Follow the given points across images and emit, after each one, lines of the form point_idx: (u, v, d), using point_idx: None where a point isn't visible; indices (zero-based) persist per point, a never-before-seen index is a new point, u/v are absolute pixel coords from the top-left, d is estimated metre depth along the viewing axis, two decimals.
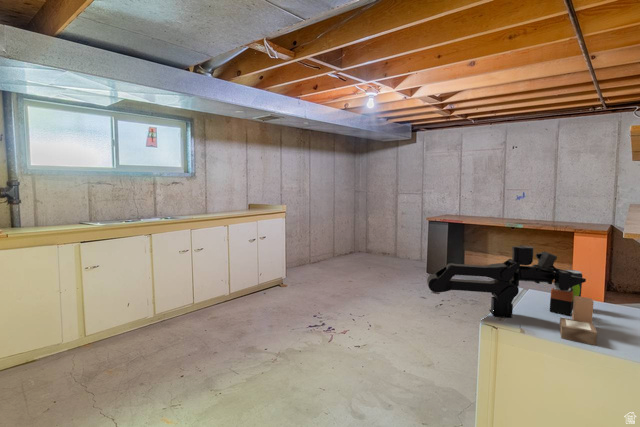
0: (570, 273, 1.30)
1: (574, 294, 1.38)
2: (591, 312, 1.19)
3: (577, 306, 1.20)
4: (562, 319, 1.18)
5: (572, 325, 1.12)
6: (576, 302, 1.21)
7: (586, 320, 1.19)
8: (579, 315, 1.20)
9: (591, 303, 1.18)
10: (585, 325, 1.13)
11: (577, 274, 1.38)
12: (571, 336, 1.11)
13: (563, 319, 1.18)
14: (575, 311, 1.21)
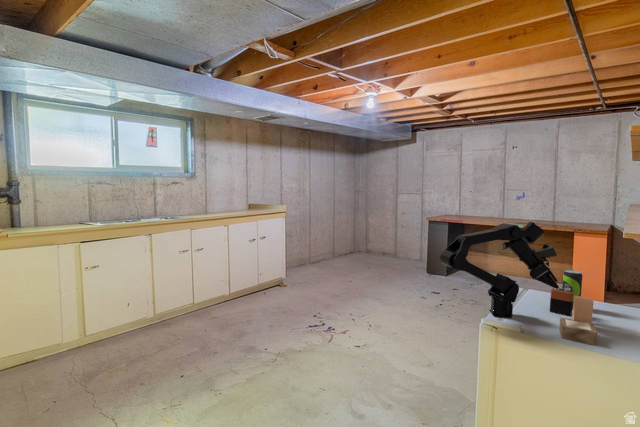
0: (555, 280, 1.29)
1: (574, 294, 1.38)
2: (591, 312, 1.19)
3: (577, 306, 1.20)
4: (562, 319, 1.18)
5: (572, 325, 1.12)
6: (576, 302, 1.21)
7: (586, 320, 1.19)
8: (579, 315, 1.20)
9: (591, 303, 1.18)
10: (585, 325, 1.13)
11: (577, 274, 1.38)
12: (571, 336, 1.11)
13: (563, 319, 1.18)
14: (575, 311, 1.21)
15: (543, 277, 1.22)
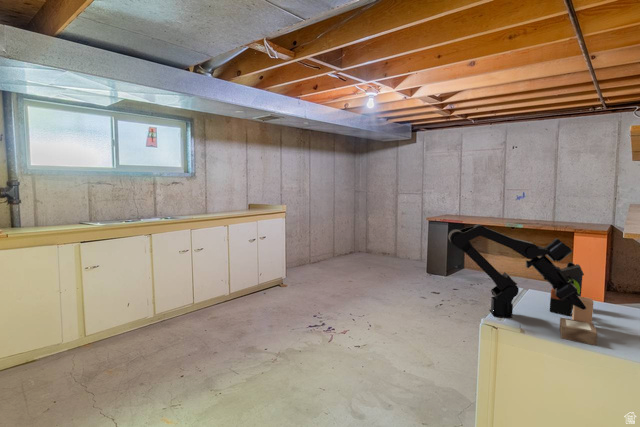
0: None
1: None
2: (591, 312, 1.19)
3: None
4: (562, 319, 1.18)
5: (572, 325, 1.12)
6: None
7: (586, 320, 1.19)
8: (579, 315, 1.20)
9: (591, 303, 1.18)
10: (585, 325, 1.13)
11: None
12: (571, 336, 1.11)
13: (563, 319, 1.18)
14: (575, 311, 1.21)
15: (570, 297, 1.19)
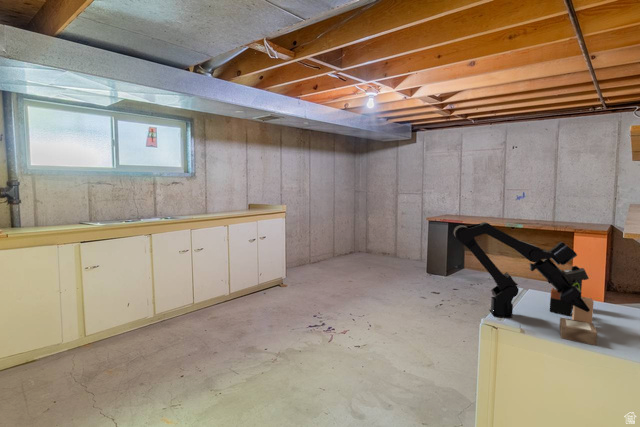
0: None
1: None
2: (591, 312, 1.19)
3: None
4: (562, 319, 1.18)
5: (572, 325, 1.12)
6: None
7: (586, 320, 1.19)
8: (579, 315, 1.20)
9: (591, 303, 1.18)
10: (585, 325, 1.13)
11: None
12: (571, 336, 1.11)
13: (563, 319, 1.18)
14: (575, 311, 1.21)
15: (573, 300, 1.20)
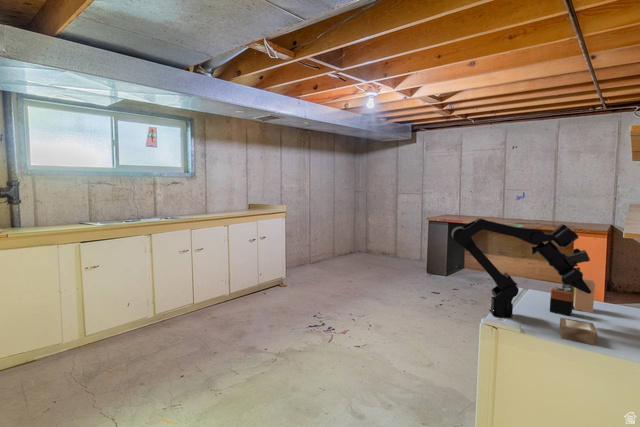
0: None
1: None
2: (593, 294, 1.18)
3: None
4: (562, 319, 1.18)
5: (572, 325, 1.12)
6: None
7: (588, 302, 1.19)
8: (581, 297, 1.20)
9: (593, 285, 1.18)
10: (585, 325, 1.13)
11: None
12: (571, 336, 1.11)
13: (563, 319, 1.18)
14: (576, 293, 1.20)
15: (575, 282, 1.19)
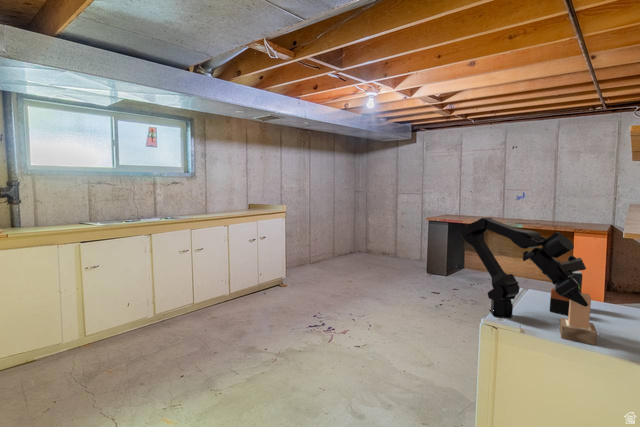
0: None
1: None
2: (588, 309, 1.10)
3: (573, 303, 1.12)
4: (562, 319, 1.18)
5: None
6: None
7: (583, 318, 1.11)
8: (576, 313, 1.11)
9: (588, 299, 1.09)
10: None
11: (577, 274, 1.38)
12: (571, 336, 1.11)
13: (563, 319, 1.18)
14: (571, 308, 1.12)
15: (570, 293, 1.09)
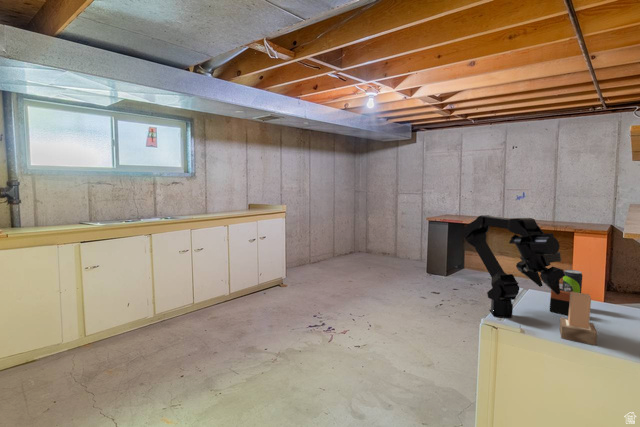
0: (540, 284, 1.27)
1: None
2: (588, 309, 1.10)
3: (573, 303, 1.12)
4: (562, 319, 1.18)
5: None
6: (572, 298, 1.12)
7: (583, 318, 1.11)
8: (576, 313, 1.11)
9: (588, 299, 1.09)
10: None
11: (577, 274, 1.38)
12: (571, 336, 1.11)
13: (563, 319, 1.18)
14: (571, 308, 1.12)
15: None
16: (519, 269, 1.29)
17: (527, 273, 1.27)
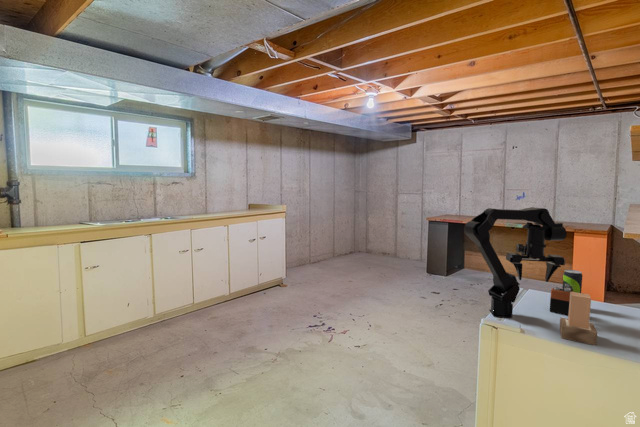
0: (520, 278, 1.34)
1: None
2: (588, 309, 1.10)
3: (573, 303, 1.12)
4: (562, 319, 1.18)
5: None
6: (572, 298, 1.12)
7: (583, 318, 1.11)
8: (576, 313, 1.11)
9: (588, 299, 1.09)
10: None
11: (577, 274, 1.38)
12: (571, 336, 1.11)
13: (563, 319, 1.18)
14: (571, 308, 1.12)
15: None
16: (516, 260, 1.30)
17: None
